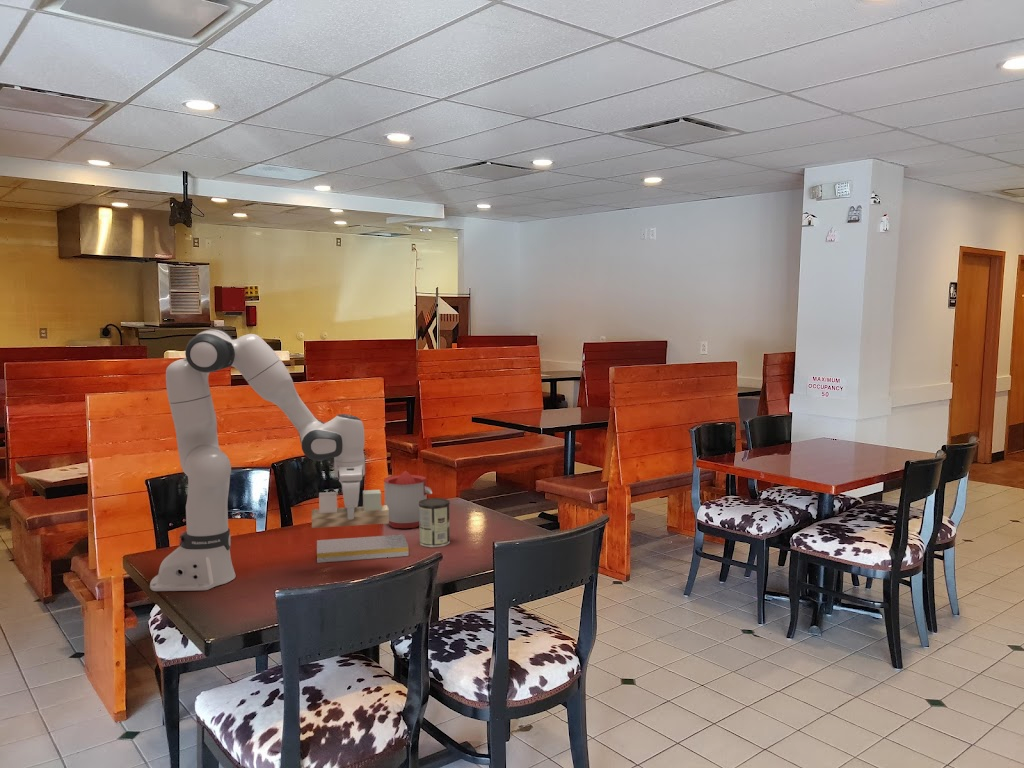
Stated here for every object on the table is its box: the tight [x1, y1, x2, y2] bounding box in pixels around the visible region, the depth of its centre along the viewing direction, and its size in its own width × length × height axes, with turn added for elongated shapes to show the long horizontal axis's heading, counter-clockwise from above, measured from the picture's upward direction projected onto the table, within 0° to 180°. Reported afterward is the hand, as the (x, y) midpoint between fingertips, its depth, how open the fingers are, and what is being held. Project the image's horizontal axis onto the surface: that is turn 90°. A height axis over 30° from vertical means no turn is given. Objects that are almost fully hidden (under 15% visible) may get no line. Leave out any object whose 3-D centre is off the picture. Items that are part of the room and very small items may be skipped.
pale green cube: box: [362, 489, 382, 511], centre depth 227 cm, size 5×5×5 cm
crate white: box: [318, 491, 338, 513], centre depth 224 cm, size 5×5×5 cm
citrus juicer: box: [383, 470, 433, 529], centre depth 276 cm, size 16×17×20 cm
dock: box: [316, 534, 410, 564], centre depth 244 cm, size 28×14×3 cm, turn 104°
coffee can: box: [418, 497, 451, 548], centre depth 255 cm, size 10×10×14 cm
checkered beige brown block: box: [311, 504, 389, 529], centre depth 226 cm, size 22×6×4 cm, turn 104°
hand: (350, 515), depth 226 cm, fingers closed on checkered beige brown block, 6 cm apart
